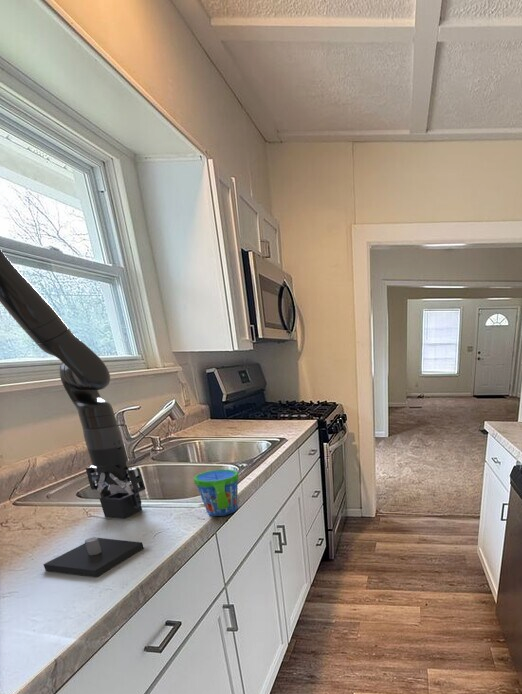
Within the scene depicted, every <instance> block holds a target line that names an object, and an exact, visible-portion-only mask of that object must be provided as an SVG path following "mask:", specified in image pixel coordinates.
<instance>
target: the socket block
mask: <svg viewBox="0 0 522 694" xmlns="http://www.w3.org/2000/svg"><path fill="white" fill-rule="evenodd" d="M129 495H130V494H129V493H128V492H127V491H126V490H125V491H124V490H116V491H115V492H111V494H110V495H107V496H105V497H102V498H101V497H100V498H99V502H100V505H101V509H102V512H103V515H104V517H105V518H115V519H127V518H129V517H131V516H133V515H135V514H136V513H139V512H141V511H143V508H142V505H141V506H140V507H138V508H132V505H131V501H130V497H129Z"/></svg>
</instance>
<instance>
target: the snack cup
mask: <svg viewBox="0 0 522 694" xmlns="http://www.w3.org/2000/svg"><path fill="white" fill-rule="evenodd" d="M239 477H240V475H239V472H238V471H236V470H234V469H214V470H213V469H212V470H207V471H204V472H200V473H198V474H196V475H195V476H193V482H194V484H195V486H196V487H197V490H198V493H199V495H200V498H201V500H202V503H203V506H204V508H205V511H206V513H207V514H208V515H209V516H211V517H212V516H213V517H224V516H228V515H231V514H232V513H233V514H234V513H235V512H237V511H238V503H239V502H238V496H239V495H238V492H239V491H238V489H239V488H238V485H239V484H238V481H239Z"/></svg>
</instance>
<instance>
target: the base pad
mask: <svg viewBox="0 0 522 694" xmlns="http://www.w3.org/2000/svg"><path fill="white" fill-rule="evenodd" d="M143 549H145V547H144V543H143V542H141V541H133V540H123V539H113V538H106V537H105V538H103V537H95V536H94V537H93V536H92V537H89V538H86V539H85V540H84V543H82V544H80V545H78V546H77V547H75V548H72V549H70V550H69V551H67V552H65V553H63V554H61V555H59V556H57V557H55V558H53V559H50V560H49V561H47V562H45V563H43V564H42V565H43V568H44V571H46V572H52V573H59V574H67V575H75V576H76V575H77V576H82V577H91V578H98V577H100V576H101V575H104V574H105V573H107V572H108V571H110V570H112V569H113V568H115V567H117V566H118V565H120V564H122V563H123V562H124V561H126V560H128V559H129V558H131V557H132V556H135V554H138V553H140V552H141V551H142V550H143Z"/></svg>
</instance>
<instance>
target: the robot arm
mask: <svg viewBox="0 0 522 694" xmlns="http://www.w3.org/2000/svg"><path fill="white" fill-rule="evenodd" d="M0 304H1V305H2V306H3V308H4V309H5V310H6V311H7V312H8V313H9V315H10V316H11V317H12V318H13V320H14V321H15V322H16V324H18V325H19V326H20V327H21V329H22V330H23V331H24V332H25V333H26V334H27V335H28V337H29V338H30V339H31V340H32V342H34V343H35V344H36V346H38V348H40V349H41V350H42V351H43V352H44V353H46V354H48V355H50V356H53V357H55V358H56V359H58V360H59V361H60V362H61V363H60V364H59V369H58V370H59V373H58V374H59V379H60V381H61V384H62V386H63V388H64V390H65V391H66V393H67V395H68V397H69V399H70V401H71V402H72V404H73V406H74V407H75V409H76V410H77V415H78V418H79V421H80V424H81V429H82V433H83V438H84V442H85V446H86V449H87V452H88V455H89V458H90V462H91V465H90V466H87V467H86V468H85V471H86V475H87V479H88V483H89V487H90V490H92V491H94V490H96V491H97V492H98V493H99V495H100V498H102V497H105V496H107V495H110V494H112V492H111V490H110V487H111V485H113V486H114V485H115V486H119V487H120V488H121V489H123V490H125V491H126V492H128V493H129V494H130V495H129V497H130V501H131V505H132V508H138V507H140V506H141V507H142V499H141V495H140V492H143V491H145V490H146V486H145V483H144V479H143V476H142V473H141V469H140V468H139V467H133V468H129V467H128V465H127V462H128V455H127V451H126V448H125V443H124V440H123V436H122V434H121V430H120V427H119V426H118V423H117V419H116V415H115V411H114V408H113V406H112V404H111V403H110V402H109V401H107V400H106V399H104V398H102V396H101V394H100V392H99V391H100V390H101V391H102V390H104V389H105V388H106V387H109V384H110V382H111V374H110V370H109V368H108V367H107V365H106V363H105V362H104V361H103V360H102V358H100V357H99V356H98V355H97V354H96V353H95V352H94V351H93V350H92V349H91V348H90V347H89V346H87V345H86V343H85V342H84V341H82V340H81V339H80V338H79V337H77V336H76V335H75V334H74V333H73V332H72V330H71V329H70V328H69V327H68V325H67V324H66V323H65V322H64V321H63V319H62V317H60V315H59V314H58V313H57V312H56V311H55V310H54V308H53V307H52V305H50V303H48V301H47V300H46V298H44V297H43V296H42V294H40V292H39V291H37V289H36V288H35V287H34V286H33V285H32V284H31V283H30V282H29V281H28V280H27V279H26V278H25V277H24V276H23V275H22V274H21V273H20V271H19V270H18V269H17V268H16V267H15V265H13V263H12V262H11V261H10V259H9V258H8V257H7V256H6V255H5V253H4V252H3V251H2V249H0Z"/></svg>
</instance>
